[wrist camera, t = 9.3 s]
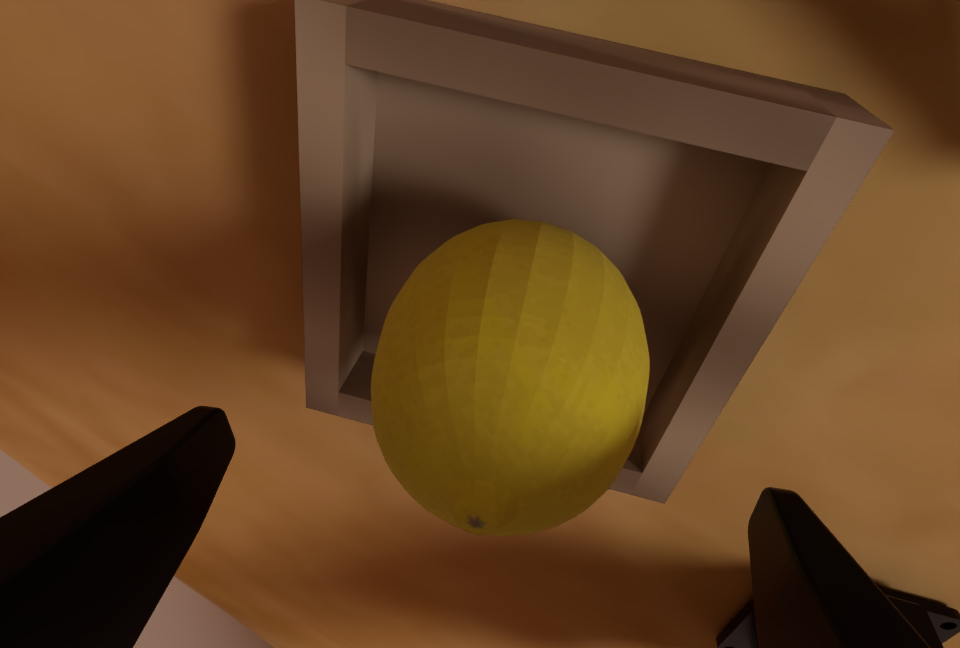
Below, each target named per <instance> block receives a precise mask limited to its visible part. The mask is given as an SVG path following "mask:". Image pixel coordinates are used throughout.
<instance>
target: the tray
mask: <svg viewBox="0 0 960 648" xmlns="http://www.w3.org/2000/svg"><path fill="white" fill-rule="evenodd" d="M295 34H296V69H297V104H298V139H299V174H300V208H301V243H302V278H303V313H304V348H305V383H306V407H307V408H310V409H314V410H318V411H321V412H325V413H329V414H333V415H336V416H340V417H344V418H347V419H351V420H355V421H359V422H362V423H366V424H370V425H373V416H372V401H371V378H372V370H373V364H374V359H375V355H376V351H377V347H378V343H379V340H380V336H381V332H382V329H383V325H384V322H385V319H386V316H387V314H388V311H389V309H390V307H391V305H392V303H393V301H394V300H395V298H396V297H397V295H398V293H399V292H400V290H401V289H402V287H403V286H404V284H405V283H406V281H407V280H408V278H409V277H410V275H411V274H412V272H413V271H414V270H415V269H416V267H417V266H418V265H419V264H420V263H421V262H422V261H423V260H424V259H425V258H426V257H428V256H429V255H430V254H431V253H433V252H434V251H435V250H436V249H438V248H439V247H440V246H441V245H443V244H444V243H445V242H446V241H448V240H449V239H451V238H452V237H454V236H456V235H458V234H460V233H463V232H465V231H467V230H470V229H472V228H474V227H477V226H479V225H482V224H485V223H491V222H498V221H504V220H510V219H520V220H532V221H543V222H546V223H549V224H552V225H555V226H558V227H561V228H564V229H567V230H570V231H572V232H573V233H575V234H577V235H578V236H580V237H582V238H583V239H585V240H587V241H588V242H590V243H591V244H593V245H595V246H596V247H597V248H598V249H599V250H600V251H601V252H602V253H603V254H604V255H605V256H606V257H607V258H608V259H609V260H610V261H611V262H612V263H613V264H614V265H615V266H616V267H617V268H618V270H619V271H620V273H621V274H622V276H623V277H624V279H625V281H626V283H627V285H628V287H629V289H630V290H631V292H632V294H633V296H634V298H635V300H636V302H637V304H638V306H639V309H640V312H641V316H642V319H643V324H644V329H645V334H646V340H647V345H648V351H649V359H650V372H649V381H648V388H647V395H646V402H645V408H644V414H643V418H642V423H641V427H640V430H639V433H638V436H637V439H636V441H635V444H634V446H633V449H632V451H631V453H630V455H629V456H628V458H627V460H626V462H625V464H624V466H623V467H622V469H621V471H620V473H619V474H618V476H617V478H616V479H615V481H614V483H613V484H612V485H611V486H610V487H609V488H608V489H612V490H616V491H619V492H623V493H627V494H630V495H634V496H638V497H642V498H645V499H649V500H653V501H657V502H660V503H664V504H665V502H666V500H667V499H668V497H669V496H670V494H671V492H672V491H673V489H674V487H675V486H676V484H677V483H678V481H679V479H680V478H681V476H682V474H683V473H684V471H685V470H686V468H687V466H688V465H689V463H690V462H691V460H692V458H693V457H694V455H695V453H696V452H697V450H698V449H699V447H700V445H701V444H702V442H703V440H704V439H705V437H706V436H707V434H708V432H709V431H710V429H711V427H712V426H713V424H714V423H715V421H716V419H717V418H718V416H719V414H720V413H721V411H722V410H723V408H724V406H725V405H726V403H727V401H728V400H729V398H730V397H731V395H732V393H733V392H734V390H735V388H736V387H737V385H738V384H739V382H740V380H741V379H742V377H743V375H744V374H745V372H746V371H747V369H748V367H749V366H750V364H751V362H752V361H753V359H754V358H755V356H756V354H757V353H758V351H759V349H760V348H761V346H762V345H763V343H764V341H765V340H766V338H767V336H768V335H769V333H770V332H771V330H772V328H773V327H774V325H775V324H776V322H777V320H778V319H779V317H780V315H781V314H782V312H783V311H784V309H785V307H786V306H787V304H788V302H789V301H790V299H791V298H792V296H793V294H794V293H795V291H796V289H797V288H798V286H799V285H800V283H801V281H802V280H803V278H804V276H805V275H806V273H807V272H808V270H809V268H810V267H811V265H812V263H813V262H814V260H815V259H816V257H817V255H818V254H819V252H820V250H821V249H822V247H823V246H824V244H825V242H826V241H827V239H828V237H829V236H830V234H831V233H832V231H833V229H834V228H835V226H836V224H837V223H838V221H839V220H840V218H841V216H842V215H843V213H844V211H845V210H846V208H847V207H848V205H849V203H850V202H851V200H852V198H853V197H854V195H855V194H856V192H857V190H858V189H859V187H860V186H861V184H862V182H863V181H864V179H865V177H866V176H867V174H868V173H869V171H870V169H871V168H872V166H873V164H874V163H875V161H876V160H877V158H878V156H879V155H880V153H881V151H882V150H883V148H884V147H885V145H886V143H887V142H888V140H889V138H890V137H891V135H892V134H893V132H894V130H893V129H892V128H891V127H889V126H888V125H887V124H885V123H884V122H883V121H881V120H880V119H878V118H877V117H876V116H874V115H873V114H872V113H870V112H869V111H868V110H866V109H865V108H864V107H862V106H861V105H859V104H858V103H857V102H855V101H854V100H853V99H851V98H850V97H849V96H847V95H846V94H843V93H838V92H834V91H829V90H825V89H821V88H816V87H812V86H807V85H803V84H798V83H794V82H789V81H785V80H780V79H776V78H771V77H767V76H763V75H758V74H754V73H749V72H745V71H740V70H736V69H731V68H727V67H722V66H718V65H713V64H709V63H704V62H700V61H696V60H691V59H687V58H682V57H678V56H673V55H669V54H664V53H660V52H655V51H651V50H646V49H642V48H638V47H633V46H629V45H624V44H620V43H615V42H611V41H606V40H602V39H597V38H593V37H588V36H584V35H580V34H575V33H571V32H566V31H562V30H557V29H553V28H548V27H544V26H539V25H535V24H530V23H526V22H521V21H517V20H513V19H508V18H504V17H499V16H495V15H490V14H486V13H481V12H477V11H472V10H468V9H463V8H459V7H455V6H450V5H446V4H441V3H437V2H432V1H428V0H295Z"/></svg>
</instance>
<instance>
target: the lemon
mask: <svg viewBox="0 0 960 648" xmlns="http://www.w3.org/2000/svg"><path fill="white" fill-rule="evenodd" d="M649 372H650V359H649V351H648V345H647V340H646V334H645V329H644V324H643V319H642V316H641V312H640V309H639V306H638V304H637V302H636V300H635V298H634V296H633V294H632V292H631V290H630V289H629V287H628V285H627V283H626V281H625V279H624V277H623V276H622V274H621V273H620V271H619V270H618V268H617V267H616V266H615V265H614V264H613V263H612V262H611V261H610V260H609V259H608V258H607V257H606V256H605V255H604V254H603V253H602V252H601V251H600V250H599V249H598V248H597V247H596V246H595V245H593V244H591V243H590V242H588V241H587V240H585V239H583V238H582V237H580V236H578V235H577V234H575V233H573V232H572V231H570V230H567V229H564V228H561V227H558V226H555V225H552V224H549V223H546V222H543V221H532V220H520V219H510V220H504V221H498V222H491V223H485V224H482V225H479V226H477V227H474V228H472V229H470V230H467V231H465V232H463V233H460V234H458V235H456V236H454V237H452V238H451V239H449V240H448V241H446V242H445V243H444V244H443V245H441V246H440V247H439V248H438V249H436V250H435V251H434V252H433V253H431V254H430V255H429V256H428V257H426V258H425V259H424V260H423V261H422V262H421V263H420V264H419V265H418V266H417V267H416V269H415V270H414V271H413V272H412V274H411V275H410V277H409V278H408V280H407V281H406V283H405V284H404V286H403V287H402V289H401V290H400V292H399V293H398V295H397V297H396V298H395V300H394V301H393V303H392V305H391V307H390V309H389V311H388V314H387V316H386V319H385V322H384V325H383V329H382V332H381V336H380V340H379V343H378V347H377V351H376V355H375V359H374V364H373V370H372V378H371V401H372V416H373V427H374V431H375V434H376V438H377V441H378V443H379V446H380V448H381V451H382V453H383V456H384V458H385V461H386V463H387V464H388V466H389V468H390V469H391V471H392V473H393V474H394V475H395V477H396V478H397V479H398V481H399V482H400V483H401V485H402V486H403V487H404V489H405V490H406V491H407V492H408V493H409V494H410V495H411V496H412V497H413V498H414V499H415V500H416V501H417V502H418V503H419V504H421V505H422V506H423V507H424V508H425V509H426V510H428V511H429V512H431V513H433V514H434V515H436V516H438V517H439V518H441V519H443V520H444V521H446V522H448V523H449V524H452V525H454V526H457V527H459V528H461V529H463V530H465V531H467V532H469V533H472V534H476V535H493V536H513V535H527V534H531V533H535V532H539V531H543V530H547V529H550V528H552V527H555V526H558V525H560V524H562V523H564V522H566V521H568V520H570V519H571V518H573V517H575V516H577V515H579V514H580V513H582V512H583V511H585V510H586V509H588V508H589V507H590V506H591V505H592V504H593V503H594V502H595V501H596V500H597V499H598V498H600V497H601V496H602V495H603V494H604V493H605V492H606V491H607V489H608V488H609V487H610V486H611V485H612V484H613V483H614V481H615V479H616V478H617V476H618V474H619V473H620V471H621V469H622V467H623V466H624V464H625V462H626V460H627V458H628V456H629V455H630V453H631V451H632V449H633V446H634V444H635V441H636V439H637V436H638V433H639V430H640V427H641V423H642V418H643V414H644V408H645V402H646V395H647V388H648V381H649Z"/></svg>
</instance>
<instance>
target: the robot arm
mask: <svg viewBox="0 0 960 648" xmlns="http://www.w3.org/2000/svg"><path fill="white" fill-rule="evenodd" d="M234 450H235V438H234V435H233V432H232V430H231V427H230V424H229V422H228V419H227V416H226V414H225V412H224V411H223V410H222V409H220V408H215V407H208V406H198V407H195V408H193V409H192V410H190V411H188V412H186V413H184V414H183V415H181V416H179V417H177V418H176V419H174V420H172V421H170V422H169V423H167V424H165V425H163V426H161V427H160V428H158V429H156V430H154V431H153V432H151V433H149V434H147V435H146V436H144V437H142V438H140V439H138V440H137V441H135V442H133V443H131V444H130V445H128V446H126V447H124V448H123V449H121V450H119V451H117V452H115V453H114V454H112V455H110V456H108V457H107V458H105V459H103V460H101V461H100V462H98V463H96V464H94V465H92V466H91V467H89V468H87V469H85V470H84V471H82V472H80V473H78V474H77V475H75V476H73V477H71V478H69V479H68V480H66V481H64V482H62V483H61V484H59V485H57V486H55V487H54V488H52V489H50V490H48V491H47V492H45V493H43V494H41V495H39V496H38V497H36V498H34V499H32V500H31V501H29V502H27V503H25V504H24V505H22V506H20V507H18V508H17V509H15V510H13V511H11V512H9V513H8V514H6V515H4V516H2V517H0V648H133V646H134V645H135V643H136V641H137V639H138V638H139V636H140V634H141V632H142V631H143V629H144V627H145V625H146V624H147V622H148V620H149V618H150V617H151V615H152V613H153V611H154V610H155V608H156V606H157V604H158V603H159V601H160V599H161V597H162V596H163V594H164V592H165V590H166V588H167V587H168V585H169V583H170V581H171V580H172V578H173V576H174V574H175V573H176V571H177V569H178V567H179V566H180V564H181V562H182V560H183V559H184V557H185V555H186V553H187V552H188V550H189V548H190V546H191V545H192V543H193V541H194V539H195V537H196V535H197V533H198V532H199V530H200V528H201V525H202V523H203V521H204V519H205V517H206V515H207V513H208V510H209V508H210V506H211V504H212V501H213V499H214V497H215V495H216V492H217V490H218V488H219V486H220V483H221V481H222V479H223V477H224V474H225V472H226V470H227V468H228V465H229V463H230V461H231V459H232V456H233V454H234ZM748 540H749V551H750V563H751V574H752V586H753V599H752V600H751V601H750V602H749V603H748V604H747V605H746V607H745V608H744V609H743V610H742V611H741V612H740V613H739V614H738V615H737V616H736V617H735V618H734V619H733V620H732V621H731V623H730V624H729V625H728V626H727V627H726V628H725V629H724V630H723V631H722V632H721V633H720V634H719V635H718V636H717V638H716V642H717V648H943V645H942V643H944V642H945V641H947V640H948V639H950V638H951V637H953V636H954V635H956V634H957V633H959V632H960V613H959V612H958V611H957V610H955V609H953V608H949V607H945V606H942V605H938V604H934V603H931V602H927V601H923V600H920V599H916V598H912V597H909V596H905V595H901V594H897V593H894V592H890V591H886V590H883V589H880V588H879V587H878V586H877V585H876V584H875V583H874V581H873V580H872V579H871V578H870V577H869V576H868V574H867V573H866V572H865V571H864V570H863V569H862V568H861V566H860V565H859V564H858V563H857V562H856V561H855V559H854V558H853V557H852V556H851V555H850V554H849V552H848V551H847V550H846V549H845V548H844V547H843V545H842V544H841V543H840V542H839V541H838V540H837V539H836V537H835V536H834V535H833V534H832V533H831V532H830V530H829V529H828V528H827V527H826V526H825V525H824V523H823V522H822V521H821V520H820V519H819V518H818V517H817V515H816V514H815V513H814V512H813V511H812V510H811V508H810V507H809V506H808V505H807V504H806V503H805V501H804V500H803V499H802V498H801V497H800V496H799V495H798V494H797V493H795V492H794V491H791V490H786V489H779V488H772V487H768V488H765V489H764V490H763V491H762V493H761V495H760V497H759V500H758V502H757V504H756V506H755V508H754V511H753V513H752V515H751V517H750V520H749V525H748Z"/></svg>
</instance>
